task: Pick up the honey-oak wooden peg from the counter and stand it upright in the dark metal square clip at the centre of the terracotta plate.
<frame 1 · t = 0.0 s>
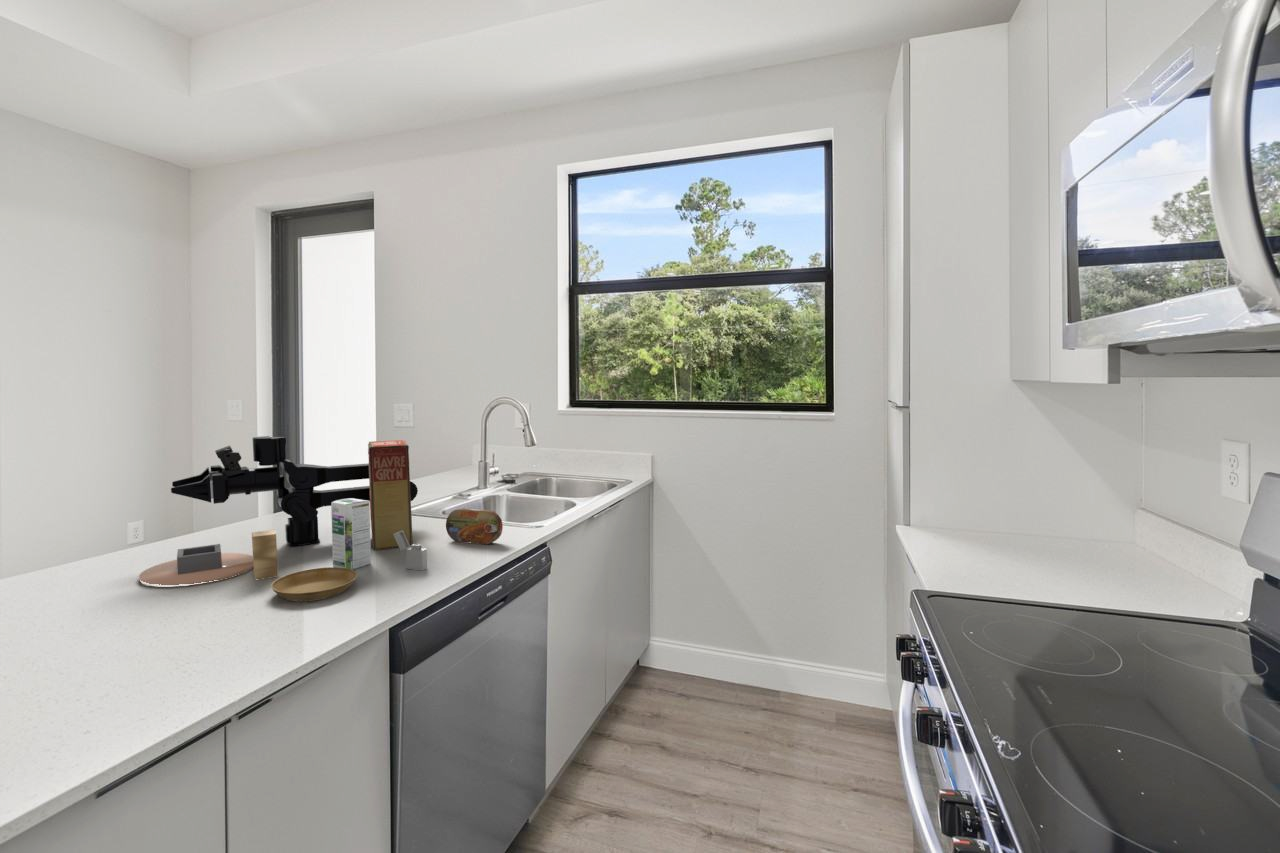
hand: (171, 487, 136), 17 cm above the worktop, tool horizontal, fingers open, 9 cm apart
lighter: (410, 568, 132), on the worktop
oak peg: (265, 575, 127), on the worktop
syrup box: (352, 566, 134), on the worktop
tin: (474, 542, 153), on the worktop
plant saucer: (315, 593, 118), on the worktop
food packaging: (391, 542, 153), on the worktop
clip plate: (200, 571, 129), on the worktop
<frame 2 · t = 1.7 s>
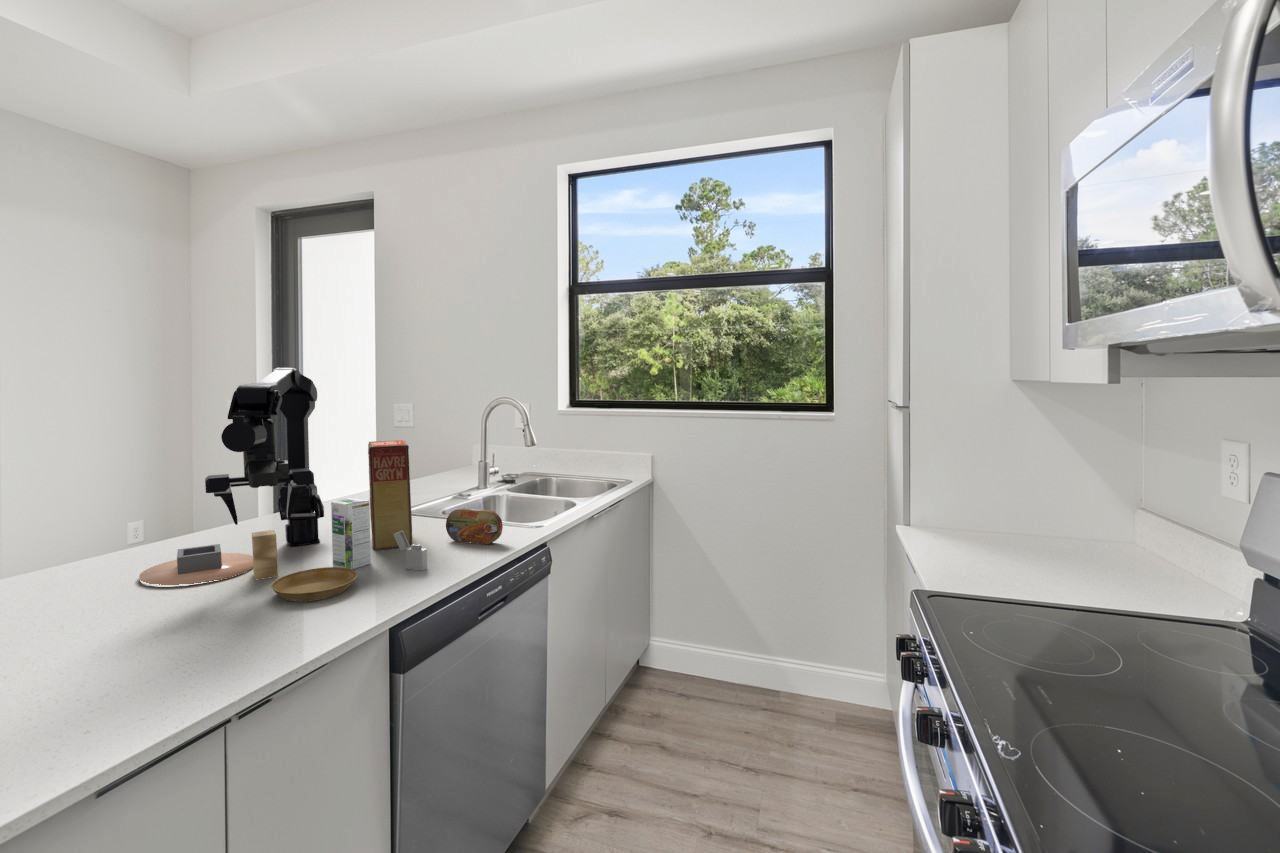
hand: (263, 521, 126), 11 cm above the worktop, tool pointing down, fingers open, 9 cm apart
nothing on the worktop moved.
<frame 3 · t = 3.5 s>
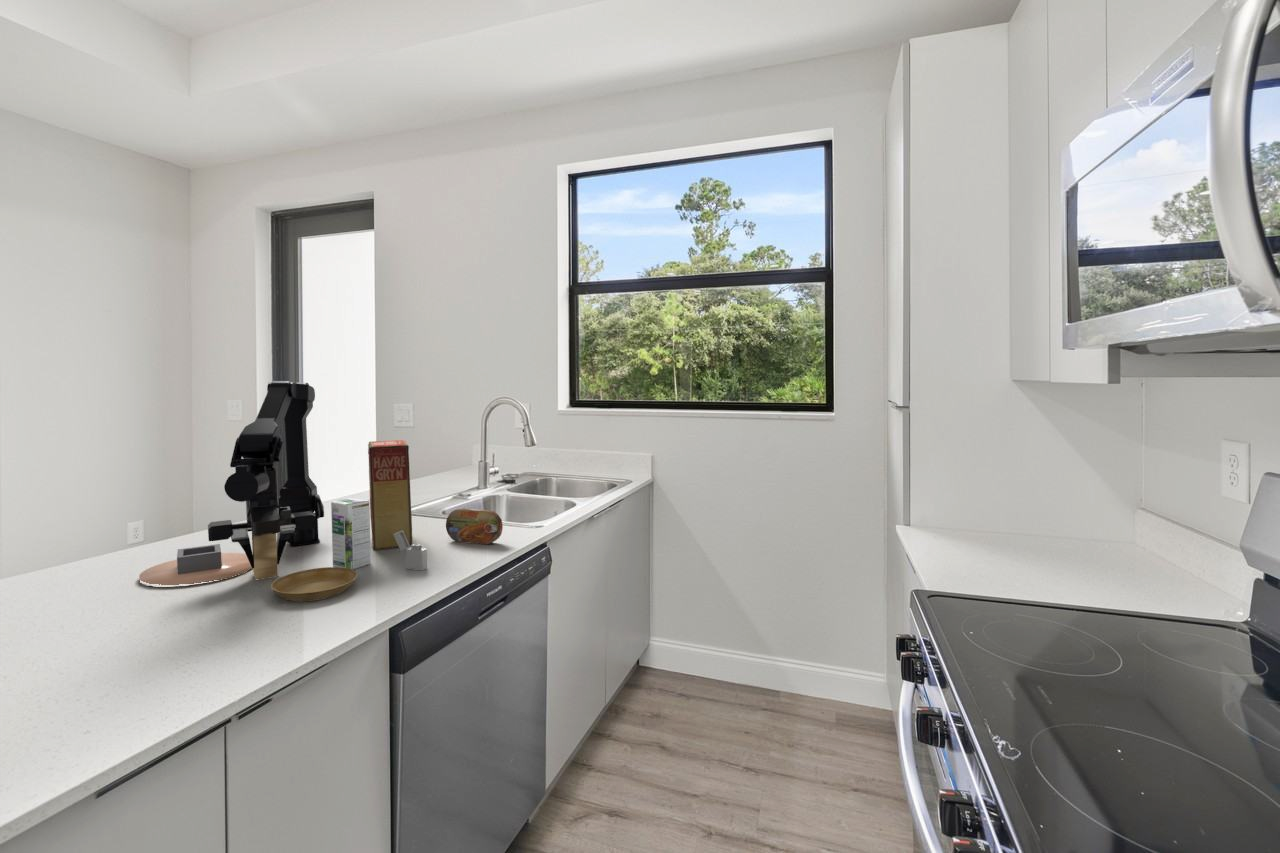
hand: (265, 566, 126), 2 cm above the worktop, tool pointing down, fingers closed on oak peg, 4 cm apart
oak peg: (265, 575, 127), on the worktop, touching gripper
everything else where it was.
when the fingers open (5 cm above the worktop, at t = 8.0 s): oak peg drops 2 cm, resting on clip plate.
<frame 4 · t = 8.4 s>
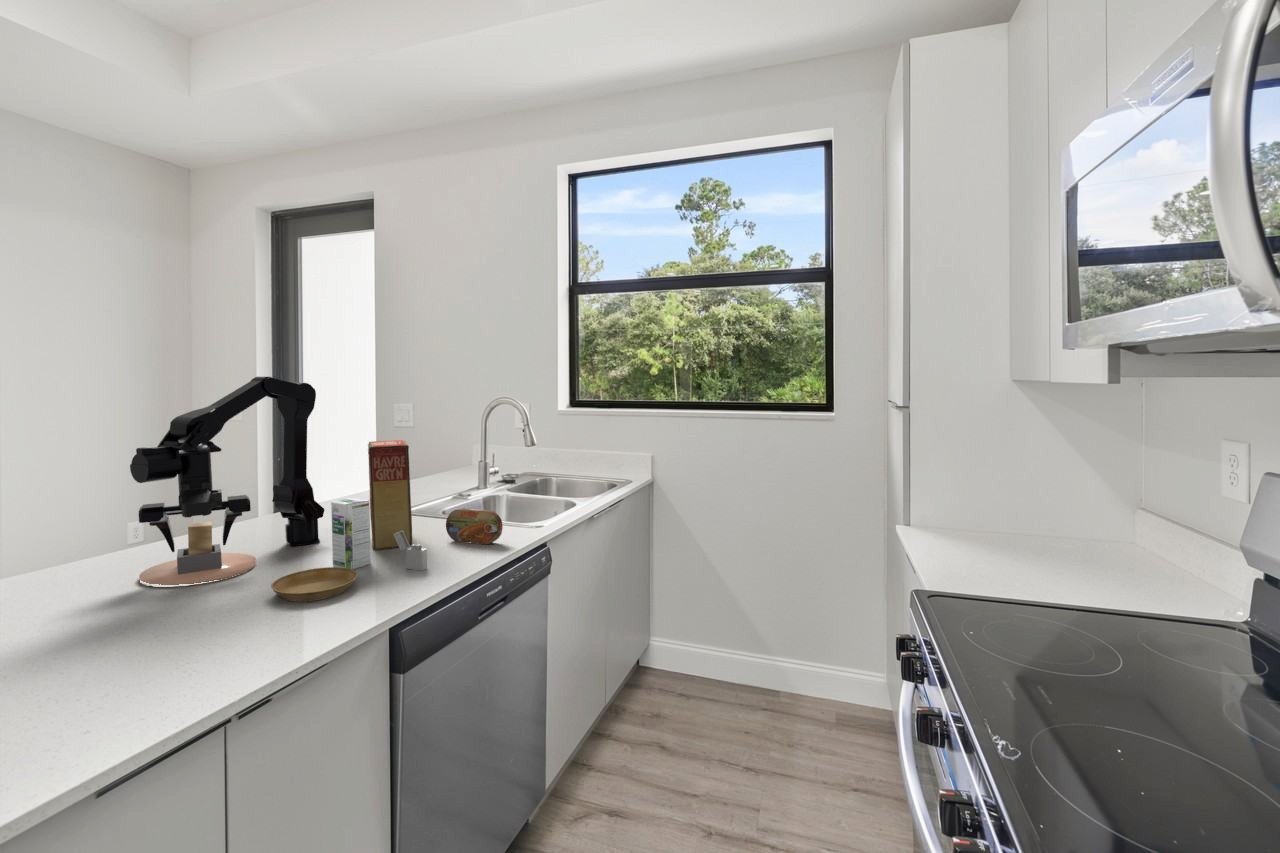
hand: (199, 548, 129), 5 cm above the worktop, tool pointing down, fingers open, 8 cm apart
oak peg: (200, 566, 129), point 1 cm above the worktop, touching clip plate
everything else where it was.
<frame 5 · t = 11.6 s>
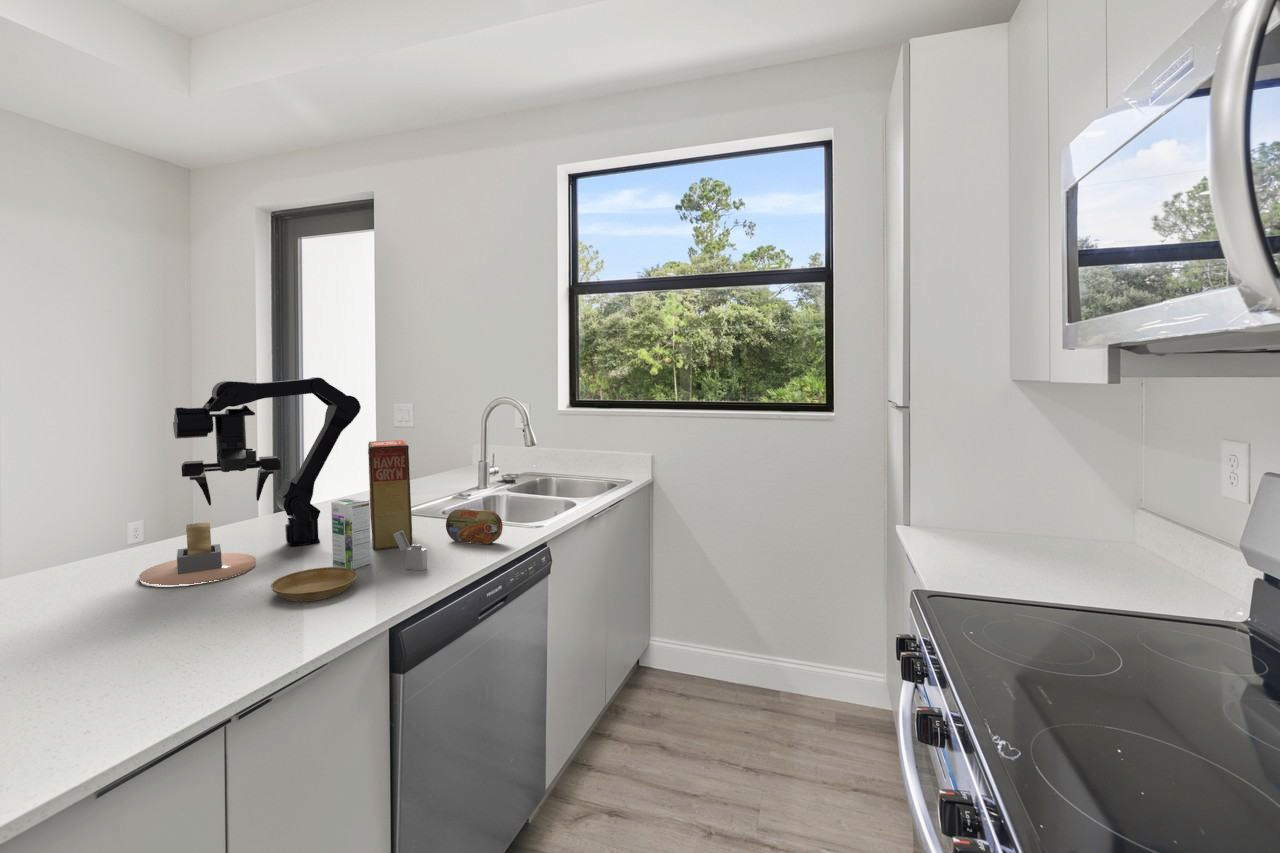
hand: (234, 502, 141), 12 cm above the worktop, tool pointing down, fingers open, 9 cm apart
nothing on the worktop moved.
at the end: oak peg 0.1 cm off-centre on the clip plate, point 1.0 cm above the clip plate's base; oak peg tilted 0°; the gripper is holding nothing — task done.
